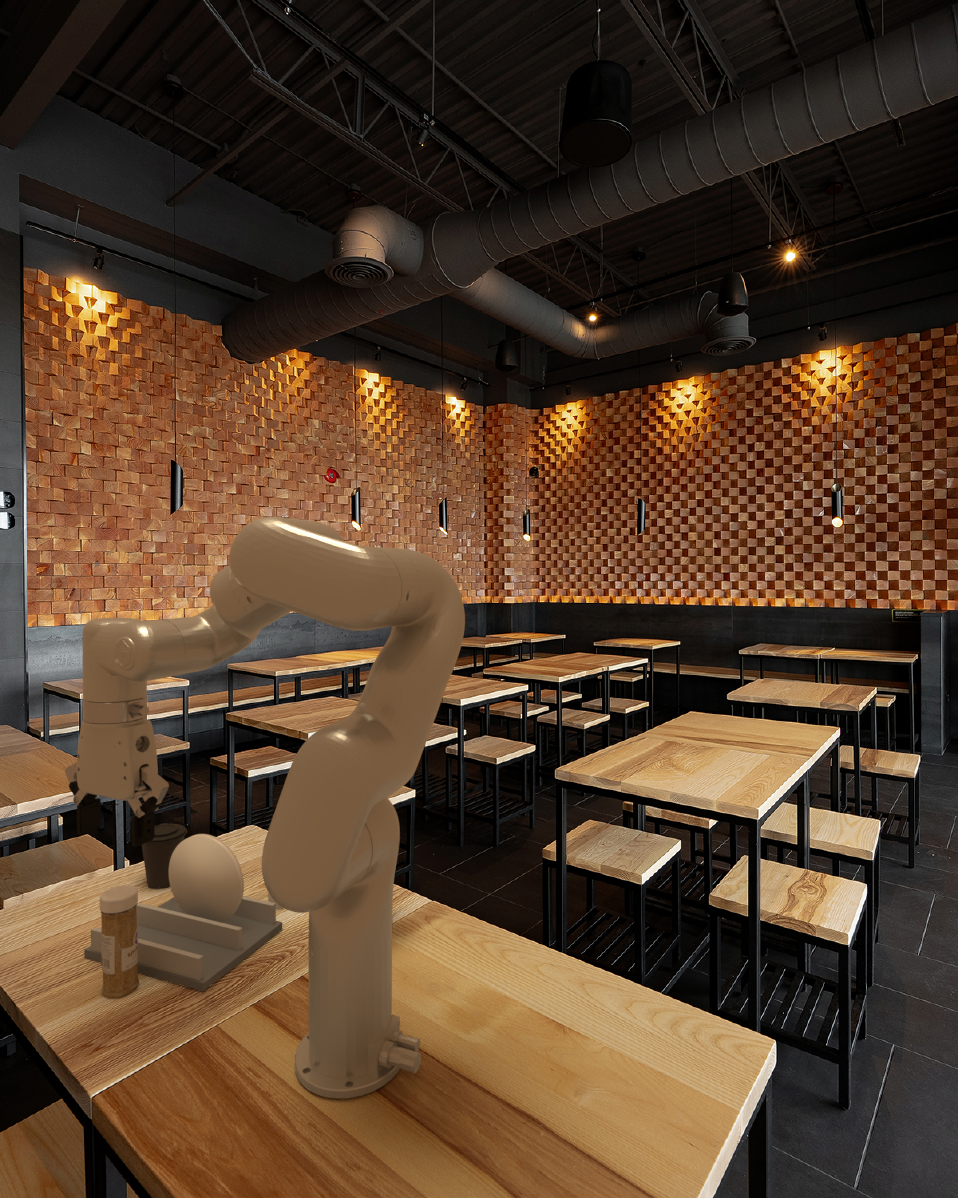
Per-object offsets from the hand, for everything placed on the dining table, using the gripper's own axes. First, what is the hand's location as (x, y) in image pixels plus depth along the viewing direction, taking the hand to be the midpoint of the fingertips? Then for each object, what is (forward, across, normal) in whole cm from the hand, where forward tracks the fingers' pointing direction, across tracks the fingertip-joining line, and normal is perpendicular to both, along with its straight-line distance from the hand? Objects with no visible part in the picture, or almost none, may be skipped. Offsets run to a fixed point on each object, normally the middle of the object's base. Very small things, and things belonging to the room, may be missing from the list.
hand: (115, 836), depth 91 cm
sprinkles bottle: (+21, -1, 0) cm, 21 cm away
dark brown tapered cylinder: (+22, +18, -26) cm, 38 cm away
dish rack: (+21, -1, -12) cm, 24 cm away
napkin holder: (+22, -4, -31) cm, 38 cm away
